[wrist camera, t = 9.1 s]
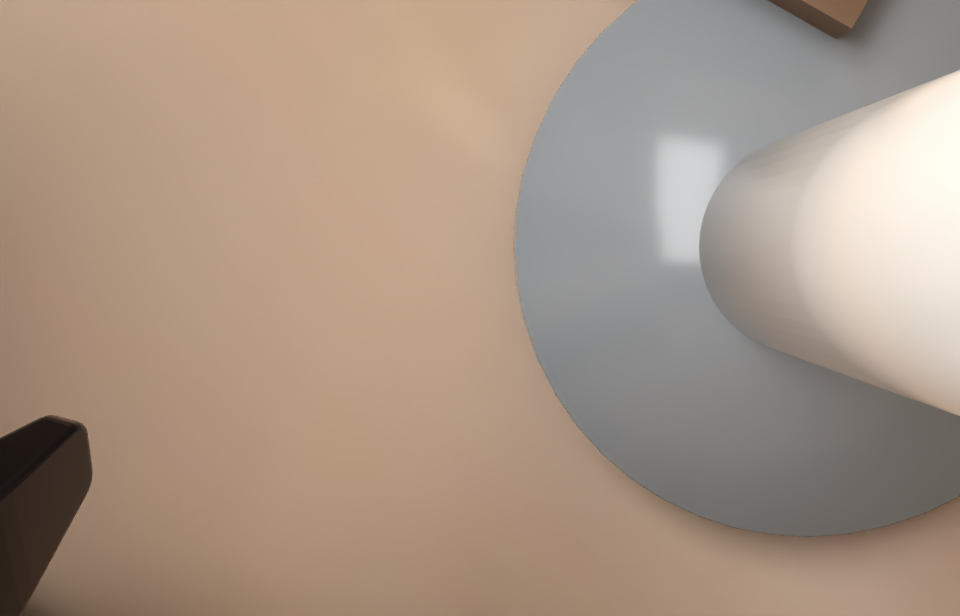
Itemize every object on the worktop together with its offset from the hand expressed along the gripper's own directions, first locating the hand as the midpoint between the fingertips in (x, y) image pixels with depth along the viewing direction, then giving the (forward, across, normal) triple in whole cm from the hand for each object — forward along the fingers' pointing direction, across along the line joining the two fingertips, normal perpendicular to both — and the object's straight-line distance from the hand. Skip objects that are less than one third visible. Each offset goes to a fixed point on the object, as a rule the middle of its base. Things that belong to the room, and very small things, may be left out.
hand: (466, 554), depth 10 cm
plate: (+11, -5, +1) cm, 12 cm away
